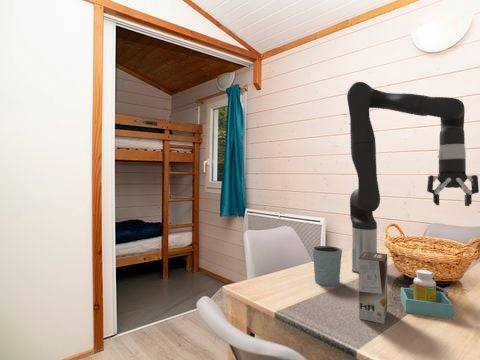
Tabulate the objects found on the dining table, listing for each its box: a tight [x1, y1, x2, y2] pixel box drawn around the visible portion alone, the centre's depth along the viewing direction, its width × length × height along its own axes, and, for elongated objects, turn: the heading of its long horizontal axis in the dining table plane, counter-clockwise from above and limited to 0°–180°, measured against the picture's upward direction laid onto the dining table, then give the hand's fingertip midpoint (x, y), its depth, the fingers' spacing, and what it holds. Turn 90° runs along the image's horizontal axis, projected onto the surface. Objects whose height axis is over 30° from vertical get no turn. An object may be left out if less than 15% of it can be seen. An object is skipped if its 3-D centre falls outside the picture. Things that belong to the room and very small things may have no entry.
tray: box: [400, 287, 454, 319], centre depth 85 cm, size 11×10×4 cm
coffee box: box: [358, 252, 388, 325], centre depth 81 cm, size 9×6×16 cm
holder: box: [408, 283, 449, 299], centre depth 94 cm, size 10×10×2 cm
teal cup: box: [312, 245, 343, 287], centre depth 107 cm, size 10×10×12 cm
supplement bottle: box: [413, 269, 437, 302], centre depth 85 cm, size 5×5×10 cm
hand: (452, 205), depth 102 cm, fingers open, 8 cm apart
